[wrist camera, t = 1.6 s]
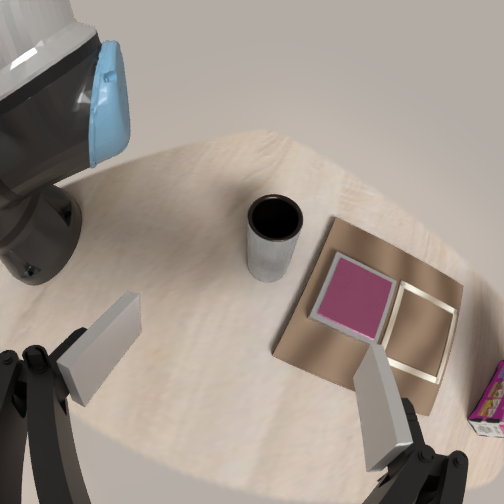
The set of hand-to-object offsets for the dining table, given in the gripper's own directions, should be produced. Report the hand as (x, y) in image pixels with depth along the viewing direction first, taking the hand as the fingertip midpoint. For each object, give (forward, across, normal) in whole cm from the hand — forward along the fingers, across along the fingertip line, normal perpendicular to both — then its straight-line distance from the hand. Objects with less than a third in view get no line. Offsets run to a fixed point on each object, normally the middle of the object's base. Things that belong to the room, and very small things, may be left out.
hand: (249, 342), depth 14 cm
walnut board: (+15, +15, -6) cm, 22 cm away
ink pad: (+15, +10, -4) cm, 18 cm away
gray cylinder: (+18, 0, -3) cm, 18 cm away
